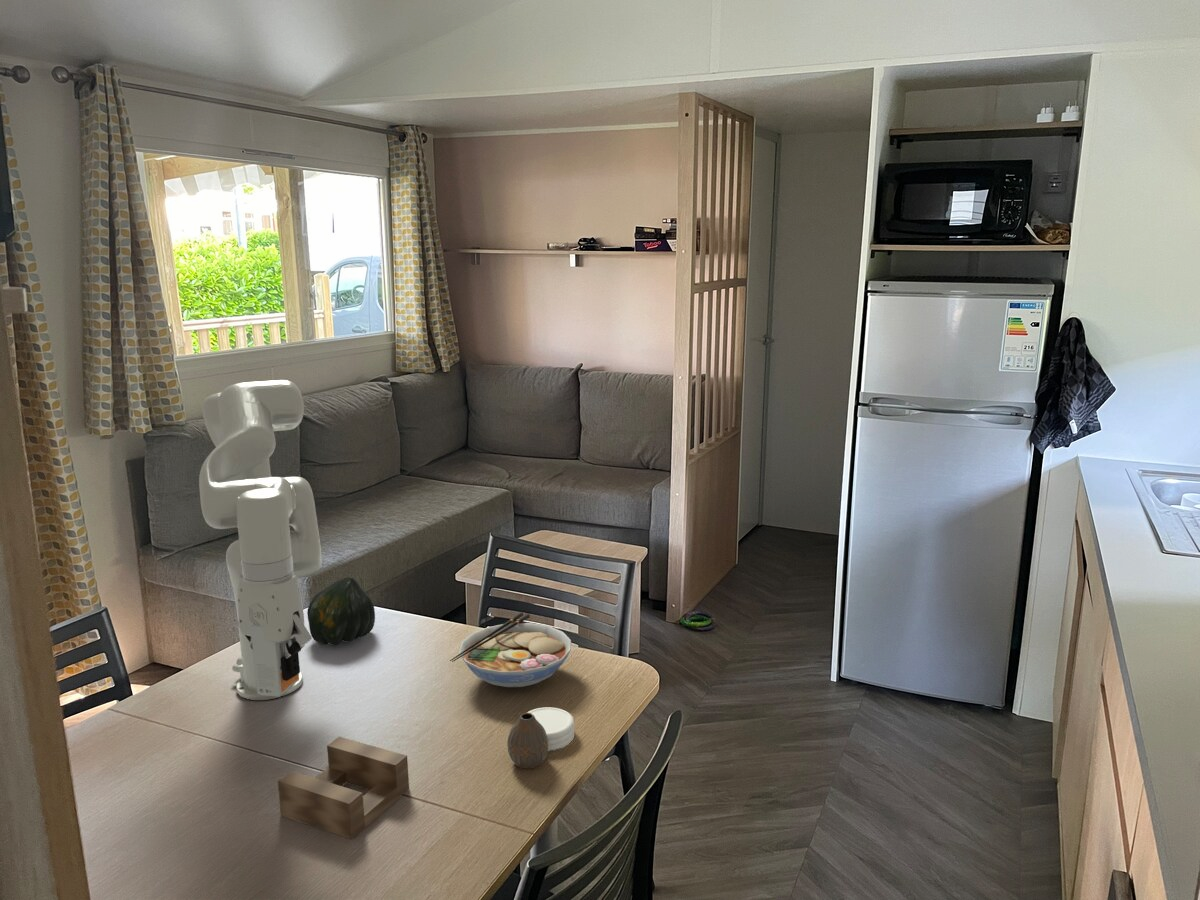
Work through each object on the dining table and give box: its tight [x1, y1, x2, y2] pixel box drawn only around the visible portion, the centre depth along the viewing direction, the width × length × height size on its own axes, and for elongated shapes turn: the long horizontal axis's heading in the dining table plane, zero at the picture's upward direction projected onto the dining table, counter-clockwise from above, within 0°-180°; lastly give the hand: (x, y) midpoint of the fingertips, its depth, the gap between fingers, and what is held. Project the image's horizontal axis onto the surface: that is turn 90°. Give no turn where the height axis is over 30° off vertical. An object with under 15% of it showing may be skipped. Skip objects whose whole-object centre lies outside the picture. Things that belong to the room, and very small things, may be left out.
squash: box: [307, 576, 376, 646], centre depth 201 cm, size 14×15×15 cm
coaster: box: [526, 706, 575, 752], centre depth 161 cm, size 10×10×4 cm
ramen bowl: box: [449, 612, 572, 688], centre depth 181 cm, size 25×23×8 cm
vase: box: [506, 712, 548, 770], centre depth 152 cm, size 7×7×9 cm
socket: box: [277, 736, 410, 840], centre depth 142 cm, size 14×14×6 cm
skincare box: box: [251, 625, 299, 698], centre depth 144 cm, size 6×4×12 cm
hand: (277, 672), depth 144 cm, fingers closed on skincare box, 5 cm apart
